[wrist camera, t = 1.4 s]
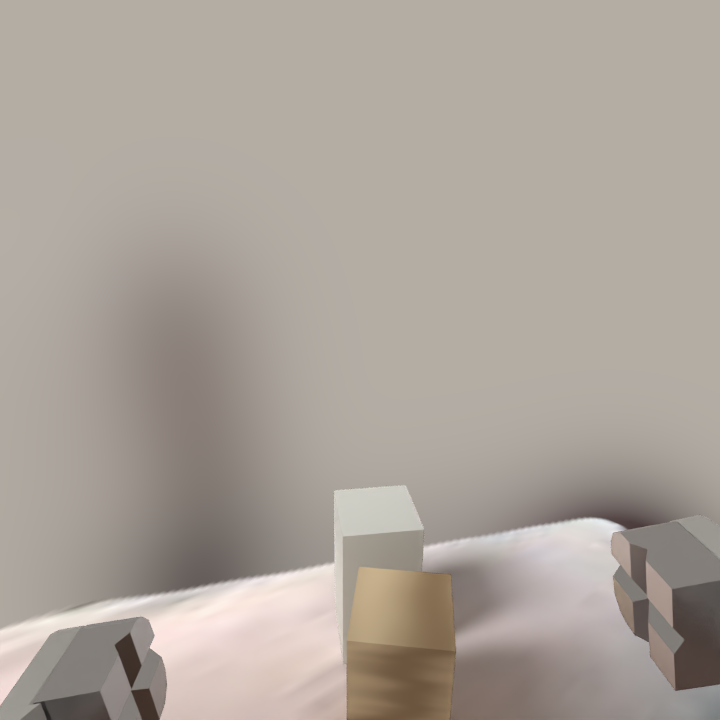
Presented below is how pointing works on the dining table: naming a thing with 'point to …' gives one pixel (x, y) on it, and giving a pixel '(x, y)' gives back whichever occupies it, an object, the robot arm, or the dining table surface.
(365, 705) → the oak block
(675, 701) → the dining table surface
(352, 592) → the grey block
